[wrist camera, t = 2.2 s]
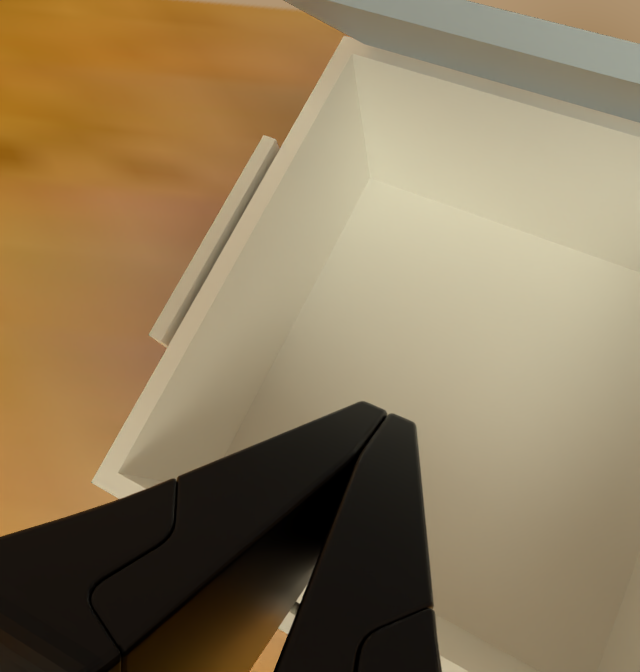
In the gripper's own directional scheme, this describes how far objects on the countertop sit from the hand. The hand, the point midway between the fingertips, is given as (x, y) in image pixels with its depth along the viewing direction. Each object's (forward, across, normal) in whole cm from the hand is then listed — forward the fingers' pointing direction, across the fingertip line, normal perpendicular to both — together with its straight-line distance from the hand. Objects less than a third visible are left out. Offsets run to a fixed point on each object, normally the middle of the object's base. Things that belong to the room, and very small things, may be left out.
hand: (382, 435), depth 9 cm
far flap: (+7, -1, -4) cm, 8 cm away
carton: (+11, -1, +6) cm, 13 cm away
